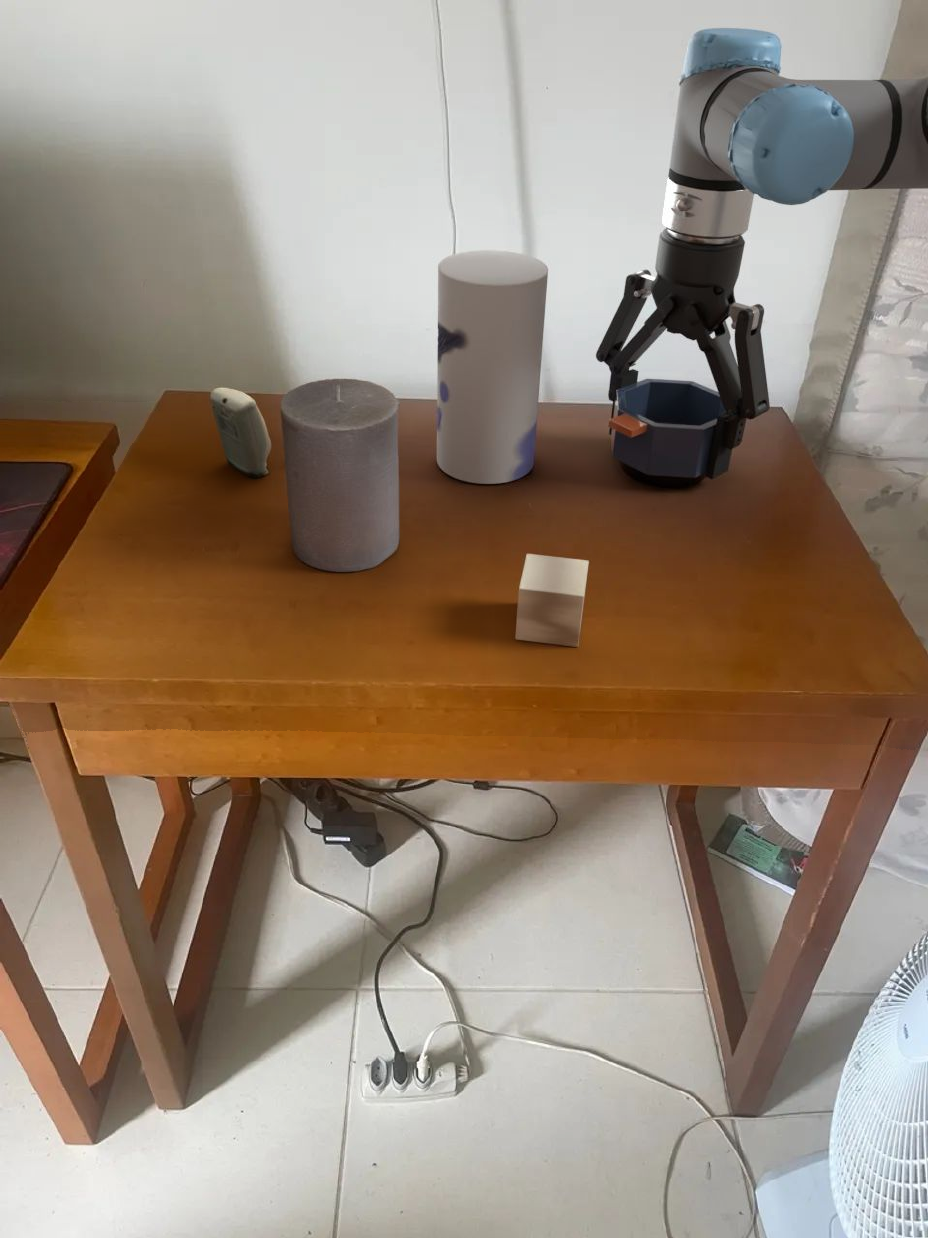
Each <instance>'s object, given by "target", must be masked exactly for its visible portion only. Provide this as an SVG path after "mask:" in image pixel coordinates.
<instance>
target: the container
mask: <svg viewBox="0 0 928 1238" xmlns="http://www.w3.org/2000/svg"><path fill="white" fill-rule="evenodd" d="M548 276H549V268H548V266H547V265H546V263H544V262H543V261H542V260H540V259H539V258H536V257H533V256H531V255H528V254H524V253H520V252H515V251H508V250H498V249H495V250H494V249H480V250H470V251H463V252H458V253H454V254H451V255H449V256H447V257H444V258H443V259H442V260H440V262H438V265H437V360H436V361H437V364H436V365H437V370H436V371H437V373H436V374H437V376H436V377H437V378H436V379H437V380H436V381H437V383H436V384H437V385H436V413H437V414H436V430H437V431H436V463H437V465H438V468H440V469H441V471H443V473H445V474H446V475H448V476H450V477H452V478H454V479H457V480H460V481H461V482H466V483H471V484H480V485H496V484H503V483H509V482H512V481H515V480H518V479H521V478H522V477H524V476H526V475H527V474H529V473H530V472H531V471H532V470H533V467H534V465H535V451H536V439H537V425H538V423H537V422H538V414H539V413H538V412H539V398H540V384H541V371H542V356H543V345H544V330H545V317H546V316H545V315H546V306H547V305H546V303H547V290H548V278H549V277H548Z"/></svg>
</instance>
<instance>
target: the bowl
mask: <svg viewBox="0 0 928 1238" xmlns="http://www.w3.org/2000/svg"><path fill="white" fill-rule="evenodd" d="M724 412H725V409H724V406H723V404H722V401H721V398H720V395H719V392H718V390H714V389H712V388H710V387H708V386H705V385H702V384H700V383H698V382H696V381H693V380H680V379H679V380H678V379H664V378H663V379H662V378H661V379H660V378H644V379H642V380H639V381H637V382H636V383H634V384H631V385H628V386H626V387H623V388H620V389H617V391H616V398H615V406H614V414H613V418H612V419H611V418H609V420H608V425H607V426H608V428H609V429H610V428H612V430H611V435H610V445H611V446H610V447H611V457H612V458H613V459H615V460H617V461H619V462H620V461H621V462H623V463H625V464H627V465H629V466H631V467H633V468H635V469H637V470H639V471H641V472H643V473H645V474H647V475H657V476H672V477H688V478H696V477H698V476H700V475H702V474H704V473H706V472H707V468H708V463H709V458H710V453H711V448H712V442H713V437H714V432H715V427H716V422H717V417H718V415H720V414H722V413H724Z"/></svg>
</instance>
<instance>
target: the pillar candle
mask: <svg viewBox="0 0 928 1238" xmlns="http://www.w3.org/2000/svg"><path fill="white" fill-rule="evenodd" d="M400 404H401V403H400V400H399V399H398V398H396V395H394V393H393V392H391V390H389V389H387V388H386V387H384V386H382V385H380V384H377V383H375V382H372V381H370V380H369V381H368V380H362V379H356V378H325V379H321V380H316V381H315V380H314V381H310V382H306V383H304V384H301V385H298V386H297V387H294V388H293V389H291V390H289V391H288V392H286V394H285V395H283V397H282V398H281V400H280V404H279V408H280V419H281V431H282V445H283V455H284V465H285V468H284V469H285V481H286V495H287V504H288V516H289V528H290V539H291V548H292V551H293V553H294V554H295V556H296V558H298V560H299V561H301V562H303V563H304V564H306V565H308V566H310V567H313V568H316V569H318V570H323V571H326V572H327V571H328V572H334V573H350V572H359V571H363V570H370V569H373V568H375V567H377V566H378V565H380V564H382V563H383V562H384V561H385V560H387V559H388V558H389V557H390V556H392V555H393V554H394V553H395V552H396V551H397V550H398V547H399V543H400V476H399V474H400V471H399V466H400V465H399V464H400V463H399V460H400V459H399V417H398V416H399V415H398V414H399V406H400Z"/></svg>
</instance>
